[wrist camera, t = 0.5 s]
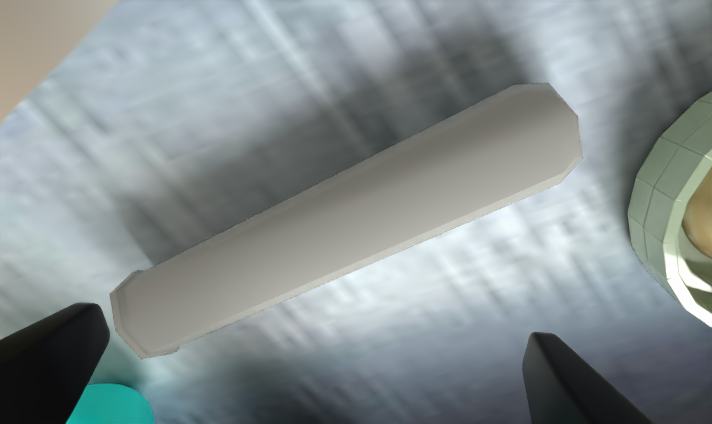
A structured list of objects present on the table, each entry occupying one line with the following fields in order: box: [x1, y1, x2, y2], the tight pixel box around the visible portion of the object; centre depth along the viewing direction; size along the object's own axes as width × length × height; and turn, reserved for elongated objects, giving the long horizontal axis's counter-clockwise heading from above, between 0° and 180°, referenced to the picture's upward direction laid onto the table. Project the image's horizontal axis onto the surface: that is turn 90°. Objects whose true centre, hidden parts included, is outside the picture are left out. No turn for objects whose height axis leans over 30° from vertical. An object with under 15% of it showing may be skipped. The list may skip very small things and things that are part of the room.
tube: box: [110, 83, 583, 360], centre depth 21 cm, size 5×5×25 cm
